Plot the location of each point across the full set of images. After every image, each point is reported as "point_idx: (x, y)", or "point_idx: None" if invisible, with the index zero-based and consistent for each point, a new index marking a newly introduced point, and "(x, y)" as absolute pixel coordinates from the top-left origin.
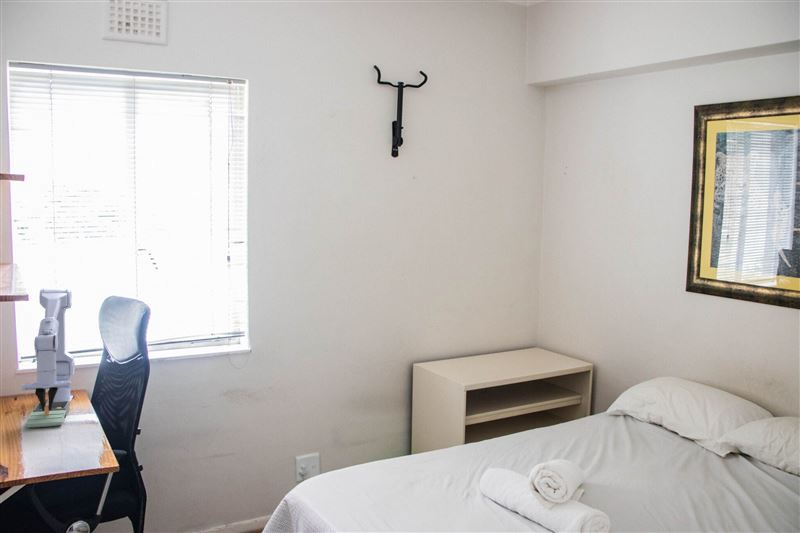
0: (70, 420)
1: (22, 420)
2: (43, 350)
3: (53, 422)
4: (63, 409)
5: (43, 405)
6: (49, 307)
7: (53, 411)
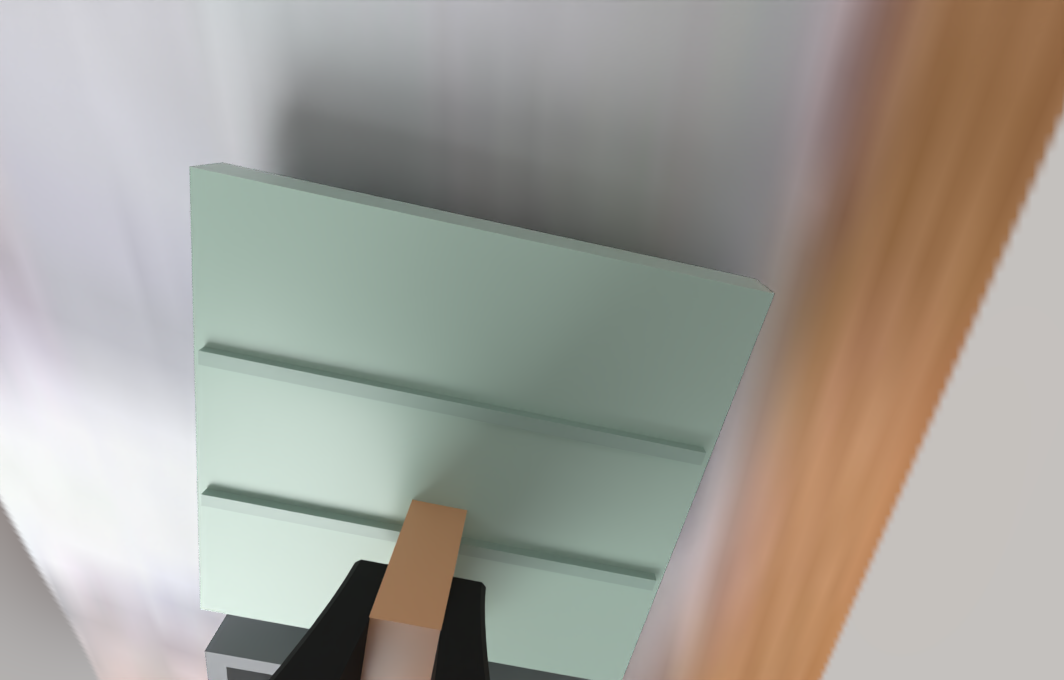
0: None
1: (686, 636)
2: None
3: (330, 195)
4: (239, 640)
5: (449, 674)
6: None
7: None
